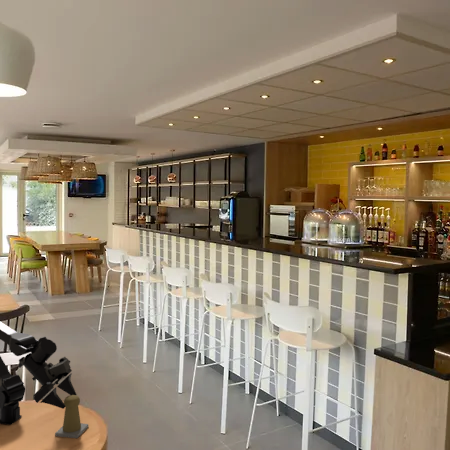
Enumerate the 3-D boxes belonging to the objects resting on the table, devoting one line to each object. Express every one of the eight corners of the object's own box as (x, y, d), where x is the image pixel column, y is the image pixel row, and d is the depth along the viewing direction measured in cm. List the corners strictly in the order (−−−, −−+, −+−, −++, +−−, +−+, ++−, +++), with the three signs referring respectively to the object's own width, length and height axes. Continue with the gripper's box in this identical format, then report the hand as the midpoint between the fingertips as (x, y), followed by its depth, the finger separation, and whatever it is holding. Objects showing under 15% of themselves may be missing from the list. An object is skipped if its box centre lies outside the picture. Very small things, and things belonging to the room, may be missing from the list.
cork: (73, 433, 153) (73, 401, 152) (58, 430, 155) (58, 398, 154) (84, 425, 159) (84, 394, 158) (70, 422, 161) (70, 391, 160)
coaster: (55, 436, 153) (55, 433, 153) (67, 424, 161) (67, 421, 161) (77, 438, 152) (77, 435, 152) (88, 426, 160) (88, 424, 160)
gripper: (42, 362, 146) (76, 397, 146) (66, 344, 165) (96, 375, 165) (18, 385, 147) (52, 420, 147) (45, 364, 166) (74, 396, 166)
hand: (70, 401), depth 156 cm, fingers open, 9 cm apart
